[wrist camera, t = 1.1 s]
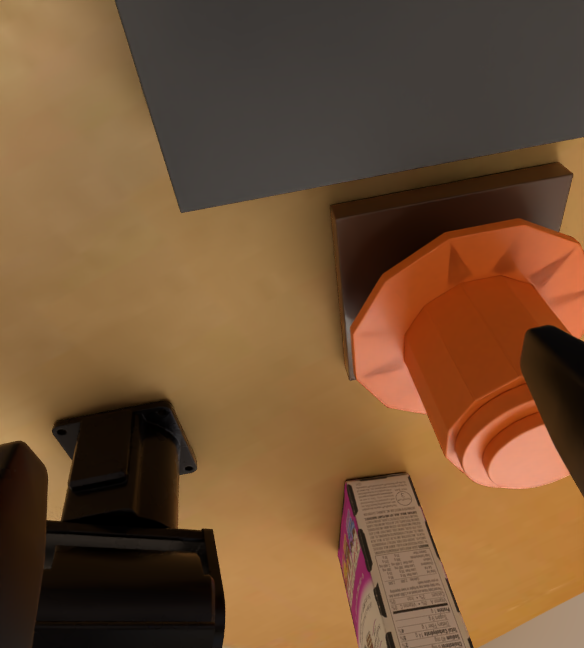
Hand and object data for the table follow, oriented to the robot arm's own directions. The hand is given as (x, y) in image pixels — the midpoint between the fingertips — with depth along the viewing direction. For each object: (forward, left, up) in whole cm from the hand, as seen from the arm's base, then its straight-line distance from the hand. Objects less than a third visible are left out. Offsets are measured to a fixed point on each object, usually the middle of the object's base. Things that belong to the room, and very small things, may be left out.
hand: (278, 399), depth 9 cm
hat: (-9, -8, -10) cm, 16 cm away
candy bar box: (-31, -4, -14) cm, 34 cm away
